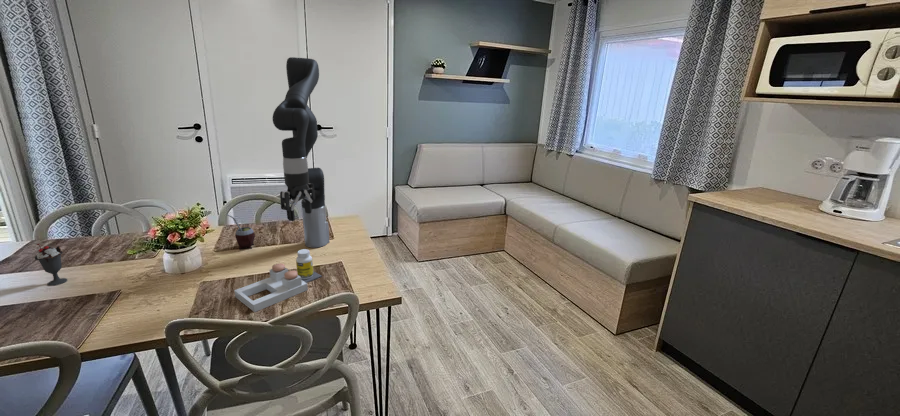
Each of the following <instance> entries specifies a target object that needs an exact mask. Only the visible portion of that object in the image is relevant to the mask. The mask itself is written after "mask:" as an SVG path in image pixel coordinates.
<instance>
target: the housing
mask: <svg viewBox="0 0 900 416" xmlns="http://www.w3.org/2000/svg"><path fill="white" fill-rule="evenodd" d="M288 271H289V269H288V268H287V267H285V269H284V270H283V271H280V272H275V271H273V270H272V268H271V269H269V277H268V278H267V277H266V278H263V279H262V280H258V281H257V282H253V283H251V284H248V285H245V286H243V287H240V288H237V289H234V290H233V291H234V297H235V298H236V299H237V300H238V301H240V302H241V303H242V304H243V305H244V306H246V307H248V308H249V309H250V310H251V311H252V312H254V313H257V312H258V311H261V310H263V309H265V308H269V307H271V306H272V305H275V304H277V303H280V302H282V301H285V300H287V299H291V298H292V297H294V296H297V295H299V294H302V293H303V292H306V291H308V290H309V289H308V283H306V282H304V281H302V280H301V277H300V276H299V275H298V276H297V277H296V278H294V279H292V280H288V279H286V278H285V275H284V274H285V273H286V272H288ZM266 290H267V291H268V292H270V293H269V294H266V295H264V296H262V297H260V298H257V299H254V300H253V299H252V298H250V296H252V295H256V294H258V293H261V292H264V291H266Z"/></svg>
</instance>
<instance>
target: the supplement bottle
mask: <svg viewBox="0 0 900 416" xmlns="http://www.w3.org/2000/svg"><path fill="white" fill-rule="evenodd" d="M295 261H296V271H297V273H298V275H299V276H300V277H301V279H309V278H311V277H312V276H313V271H314V266H313V257H312V256H311V254H310V250H309V249H308V248H307V249H306V248H303V249H299V250H298V251H297V257H296V259H295Z"/></svg>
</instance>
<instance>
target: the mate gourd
mask: <svg viewBox="0 0 900 416" xmlns="http://www.w3.org/2000/svg"><path fill="white" fill-rule="evenodd" d="M226 216H228V217H230V218H231V219H232V220H233V221H234V222H235V224H236V226H237V227H238V228H237V230H236V231H235V240H236V242H237V244H238V247H239V248H238V250H243V249H249V250H251V249H253V247H252V246H254V245H255V243H254V241H255V239H256V238H255V237H256V235H255V232H254V230H253V228H252V227H248V226H244V227H241V226H240V225H239V223H238V221H237V219H236V218H235V217H233V216H232V215H229V214H228V213H227V214H226Z"/></svg>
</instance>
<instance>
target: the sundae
mask: <svg viewBox="0 0 900 416" xmlns="http://www.w3.org/2000/svg"><path fill="white" fill-rule="evenodd" d="M36 245H37V246H39V249H38V253H37V254H36V255H35V256H34V260H35V261H38V262H39V263H40V265H41V267H42V269H43V270H44V272H45V273H47V274H51V275H52V278H53V279H52V280H50V281H49V282H47V286H48V287H52V286H58V285H63V284H64V283H67V282H68V278H65V277H63V278H62V277H59V274H58V273H59V271H60V270H61V269H62V268H63V267H62V264H63V263H62V254H64V252H63V251H62V249H61V246H59V245H57V246H56V248H55V247H54V246H48V245H44V244H40V243H37V244H36ZM41 246H43V248H41Z"/></svg>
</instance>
